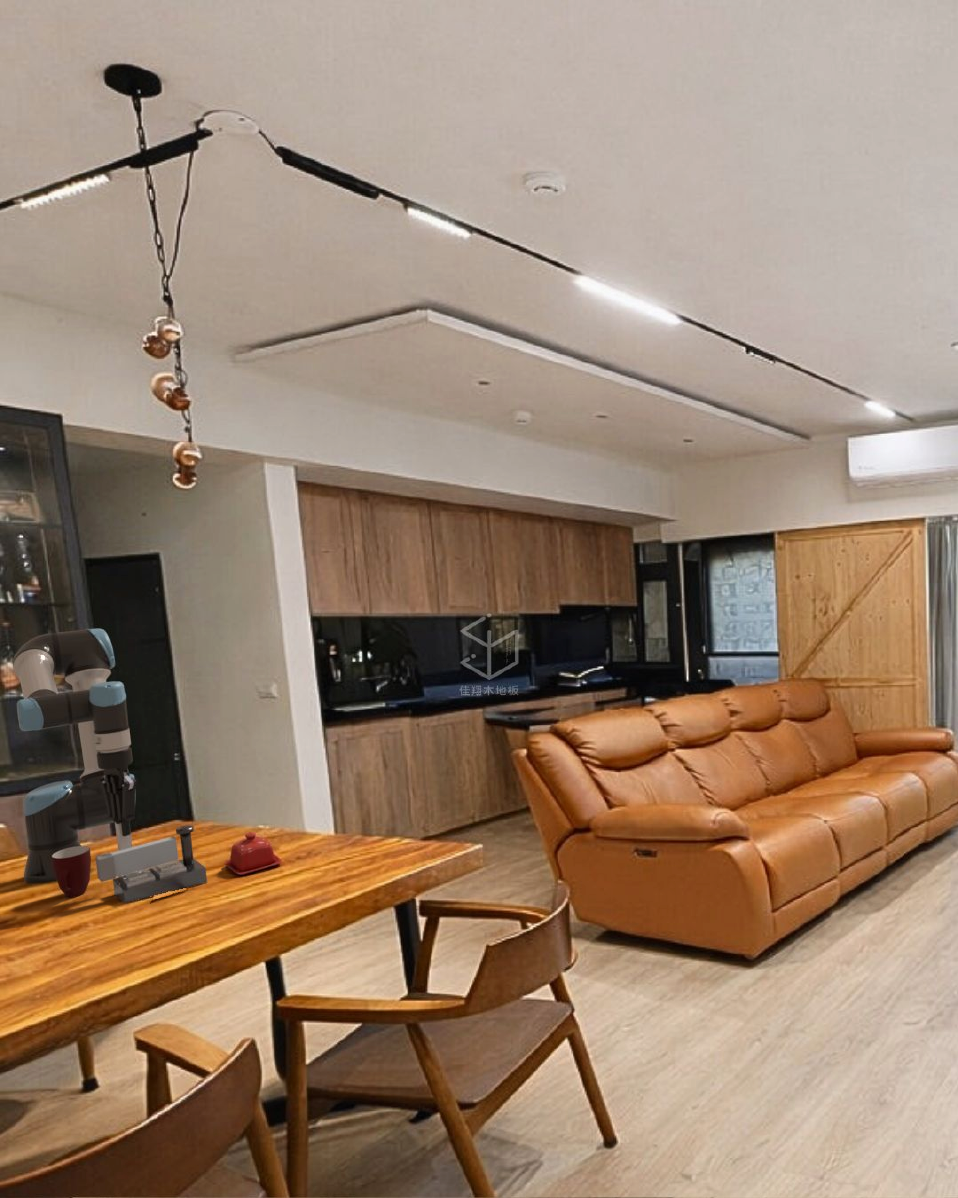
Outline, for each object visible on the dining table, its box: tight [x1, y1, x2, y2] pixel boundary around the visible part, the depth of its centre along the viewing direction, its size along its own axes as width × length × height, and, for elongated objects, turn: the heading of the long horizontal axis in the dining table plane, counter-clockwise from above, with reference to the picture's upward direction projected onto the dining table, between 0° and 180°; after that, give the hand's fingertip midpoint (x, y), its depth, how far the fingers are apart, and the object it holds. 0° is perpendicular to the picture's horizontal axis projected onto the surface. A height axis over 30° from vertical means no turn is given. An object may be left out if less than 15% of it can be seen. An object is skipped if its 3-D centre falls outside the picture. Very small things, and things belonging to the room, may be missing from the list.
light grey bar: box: [94, 836, 179, 883], centre depth 195 cm, size 17×4×5 cm, turn 126°
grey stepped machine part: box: [112, 825, 208, 904], centre depth 197 cm, size 10×18×12 cm, turn 126°
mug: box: [52, 845, 92, 898], centre depth 198 cm, size 11×8×10 cm
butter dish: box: [223, 831, 283, 876], centre depth 208 cm, size 12×12×8 cm
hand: (125, 848), depth 200 cm, fingers closed
